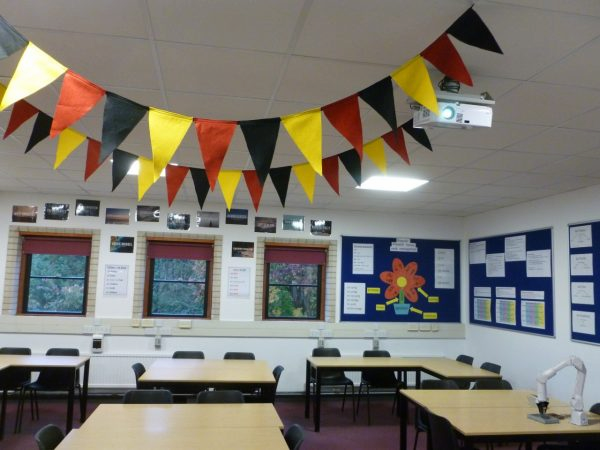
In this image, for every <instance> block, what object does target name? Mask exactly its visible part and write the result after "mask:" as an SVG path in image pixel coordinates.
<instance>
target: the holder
mask: <svg viewBox="0 0 600 450" xmlns="http://www.w3.org/2000/svg"><path fill="white" fill-rule="evenodd" d="M545 415H548V416H551V417H554V418H557V419H559V421H560V420H562V421H563V420H565V417H564V416H563V415H561V414H557V413H555V412H552V413H551V412H549V413H547V412H546V413H545Z"/></svg>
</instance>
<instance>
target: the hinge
mask: <svg viewBox="0 0 600 450" xmlns="http://www.w3.org/2000/svg"><path fill="white" fill-rule="evenodd" d="M526 398H527V401H528V405H531V406H533V407H536V408H538V407H537V405H536V403H535V400H536V398H538V394H531V393H530V394H529V395H527V397H526ZM547 410H549V406H548V407H547Z"/></svg>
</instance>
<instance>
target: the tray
mask: <svg viewBox="0 0 600 450" xmlns="http://www.w3.org/2000/svg"><path fill="white" fill-rule="evenodd" d="M526 415H527V416H526V417H527V419H530V420H532V421H535V422H538V423H541V424H544V425H552V424H553V425H554V424H560V420H559V419H557V418H554V417H551V416H548V415H545V416H546V418H541V414H540V413H539V412H538V413H527V414H526Z"/></svg>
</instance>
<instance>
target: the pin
mask: <svg viewBox="0 0 600 450" xmlns="http://www.w3.org/2000/svg"><path fill="white" fill-rule="evenodd" d="M545 409H546V407H545V406H544V408H543V414H542V413H540V414H541V418H546V416H545V414H546V413H545Z"/></svg>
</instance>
